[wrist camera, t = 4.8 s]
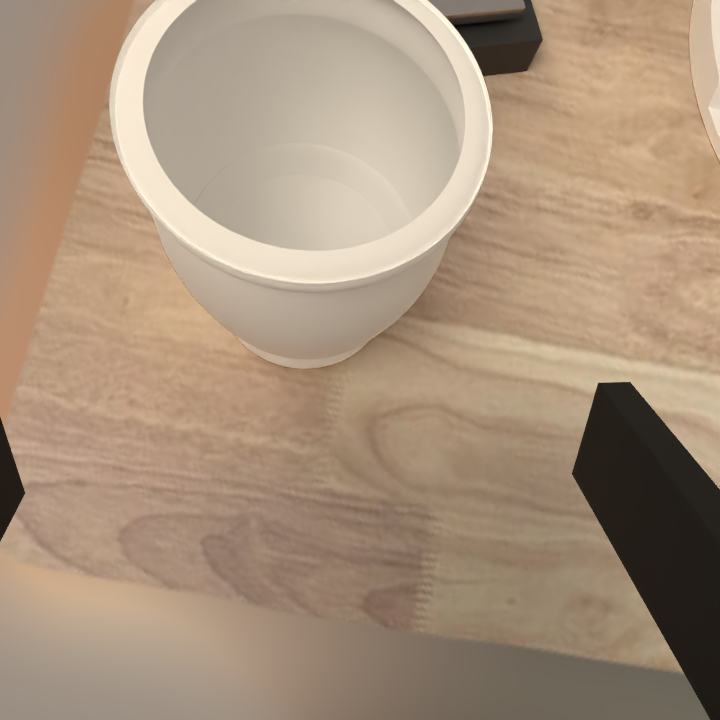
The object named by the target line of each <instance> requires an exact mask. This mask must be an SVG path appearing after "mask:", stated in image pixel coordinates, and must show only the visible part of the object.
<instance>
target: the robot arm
mask: <svg viewBox="0 0 720 720" xmlns="http://www.w3.org/2000/svg"><path fill="white" fill-rule="evenodd" d="M572 475H573V477H574V478H575V480H576V482H577V484H578V486H579V487H580V489H581V491H582V493H583V494H584V496H585V498H586V500H587V501H588V503H589V505H590V507H591V509H592V510H593V512H594V514H595V516H596V517H597V519H598V521H599V523H600V525H601V526H602V528H603V530H604V532H605V533H606V535H607V537H608V539H609V541H610V542H611V544H612V546H613V548H614V549H615V551H616V553H617V555H618V556H619V558H620V560H621V562H622V564H623V565H624V567H625V569H626V571H627V572H628V574H629V576H630V578H631V580H632V581H633V583H634V585H635V587H636V588H637V590H638V592H639V594H640V596H641V597H642V599H643V601H644V603H645V604H646V606H647V608H648V610H649V611H650V613H651V615H652V617H653V619H654V620H655V622H656V624H657V626H658V627H659V629H660V631H661V633H662V635H663V636H664V638H665V640H666V642H667V643H668V645H669V647H670V649H671V651H672V652H673V654H674V656H675V658H676V659H677V661H678V663H679V665H680V666H681V668H682V670H683V672H684V674H685V675H686V677H687V679H688V681H689V682H690V684H691V686H692V688H693V690H694V691H695V693H696V695H697V697H698V698H699V700H700V702H701V704H702V705H703V707H704V709H705V711H706V712H707V714H708V716H709V718H710V720H720V489H719V488H718V487H717V486H716V485H715V483H714V482H713V481H712V480H711V479H710V477H709V476H708V475H707V474H706V473H705V471H704V470H703V469H702V468H701V467H700V465H699V464H698V463H697V462H696V461H695V459H694V458H693V457H692V456H691V455H690V453H689V452H688V451H687V450H686V449H685V447H684V446H683V445H682V444H681V443H680V441H679V440H678V439H677V438H676V437H675V435H674V434H673V433H672V432H671V431H670V429H669V428H668V427H667V426H666V425H665V423H664V422H663V421H662V420H661V419H660V417H659V416H658V415H657V414H656V413H655V411H654V410H653V409H652V408H651V407H650V405H649V404H648V403H647V402H646V401H645V399H644V398H643V397H642V396H641V395H640V393H639V392H638V391H637V390H636V389H635V387H634V386H633V385H632V384H631V383H630V382H616V383H598V386H597V389H596V393H595V396H594V400H593V403H592V407H591V410H590V413H589V417H588V420H587V424H586V427H585V431H584V434H583V438H582V441H581V445H580V448H579V451H578V455H577V458H576V462H575V465H574V469H573V472H572ZM24 494H25V491H24V488H23V485H22V482H21V479H20V476H19V473H18V470H17V467H16V464H15V461H14V458H13V455H12V452H11V448H10V445H9V442H8V439H7V436H6V433H5V430H4V427H3V424H2V421H1V418H0V541H1V539H2V537H3V535H4V533H5V531H6V529H7V527H8V526H9V524H10V522H11V520H12V518H13V516H14V514H15V512H16V510H17V508H18V506H19V504H20V502H21V500H22V498H23V496H24Z"/></svg>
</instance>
